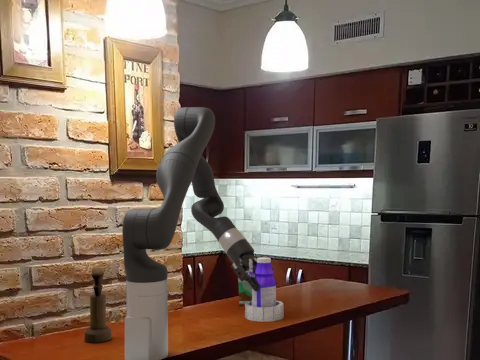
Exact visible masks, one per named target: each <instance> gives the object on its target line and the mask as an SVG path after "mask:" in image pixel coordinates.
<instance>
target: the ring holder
mask: <svg viewBox="0 0 480 360" xmlns="http://www.w3.org/2000/svg"><path fill="white" fill-rule="evenodd" d="M284 308H285V307H284V303H283V302H282V301H280V300H276V306H271V307H258V306H252V301H248V302H246V303H245V306H244V318H246V320H249V321H251V322H262V323H264V322H266V323H268V322H276V321H281V320H283V319H284V317H285V315H284V311H285V310H284Z"/></svg>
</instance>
